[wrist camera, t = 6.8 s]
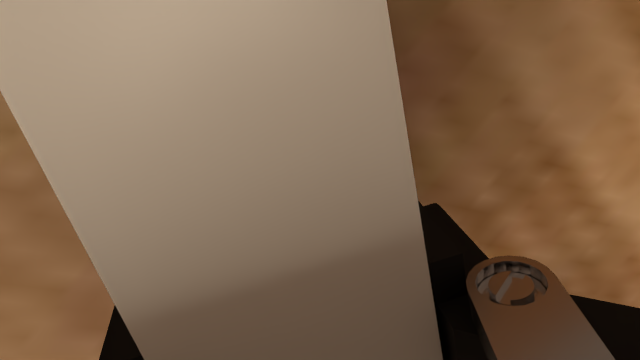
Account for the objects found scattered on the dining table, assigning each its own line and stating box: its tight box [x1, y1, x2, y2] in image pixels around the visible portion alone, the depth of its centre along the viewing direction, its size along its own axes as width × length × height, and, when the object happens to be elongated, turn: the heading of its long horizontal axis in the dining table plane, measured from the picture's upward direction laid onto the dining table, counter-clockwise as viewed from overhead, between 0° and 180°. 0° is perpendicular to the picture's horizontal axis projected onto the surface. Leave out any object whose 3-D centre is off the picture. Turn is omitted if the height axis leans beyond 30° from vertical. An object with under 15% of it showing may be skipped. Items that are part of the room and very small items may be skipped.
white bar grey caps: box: [0, 0, 443, 360], centre depth 9 cm, size 21×6×6 cm, turn 13°
